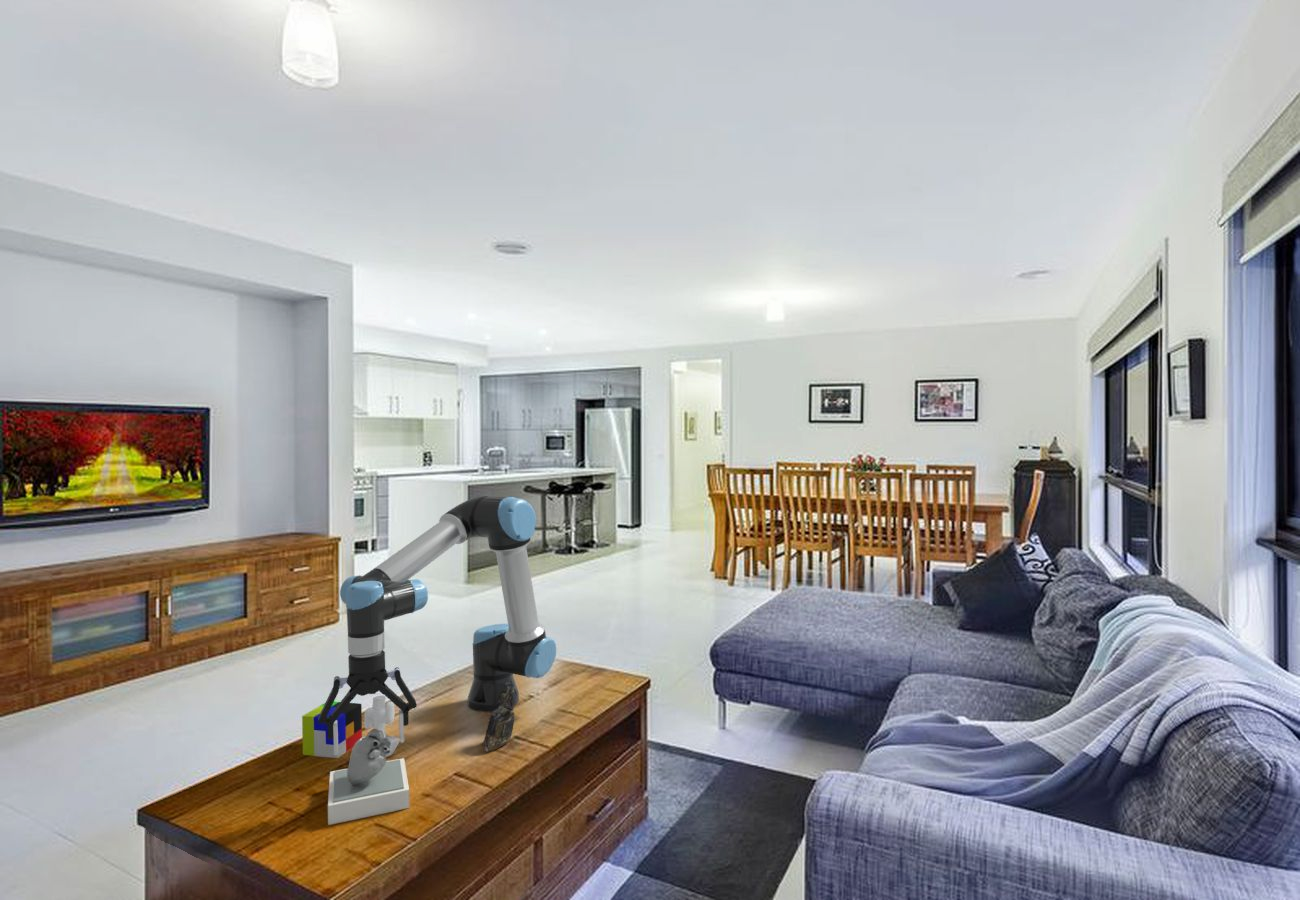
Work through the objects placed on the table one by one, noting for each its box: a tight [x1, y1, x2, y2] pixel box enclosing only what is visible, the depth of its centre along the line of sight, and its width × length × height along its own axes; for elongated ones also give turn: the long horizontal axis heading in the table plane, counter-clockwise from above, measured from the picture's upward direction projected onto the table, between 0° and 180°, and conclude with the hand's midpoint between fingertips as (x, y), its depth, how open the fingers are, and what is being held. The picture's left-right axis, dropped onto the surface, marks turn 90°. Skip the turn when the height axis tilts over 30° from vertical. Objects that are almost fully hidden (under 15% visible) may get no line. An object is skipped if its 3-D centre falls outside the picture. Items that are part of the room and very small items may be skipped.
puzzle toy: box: [301, 701, 363, 759], centre depth 177 cm, size 10×10×10 cm
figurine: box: [363, 695, 400, 758], centre depth 173 cm, size 7×9×15 cm
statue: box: [482, 682, 515, 752], centre depth 179 cm, size 6×12×15 cm, turn 155°
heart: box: [347, 728, 391, 786], centre depth 152 cm, size 10×10×12 cm
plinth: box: [327, 757, 410, 826], centre depth 152 cm, size 16×16×4 cm
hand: (369, 746), depth 152 cm, fingers open, 13 cm apart
